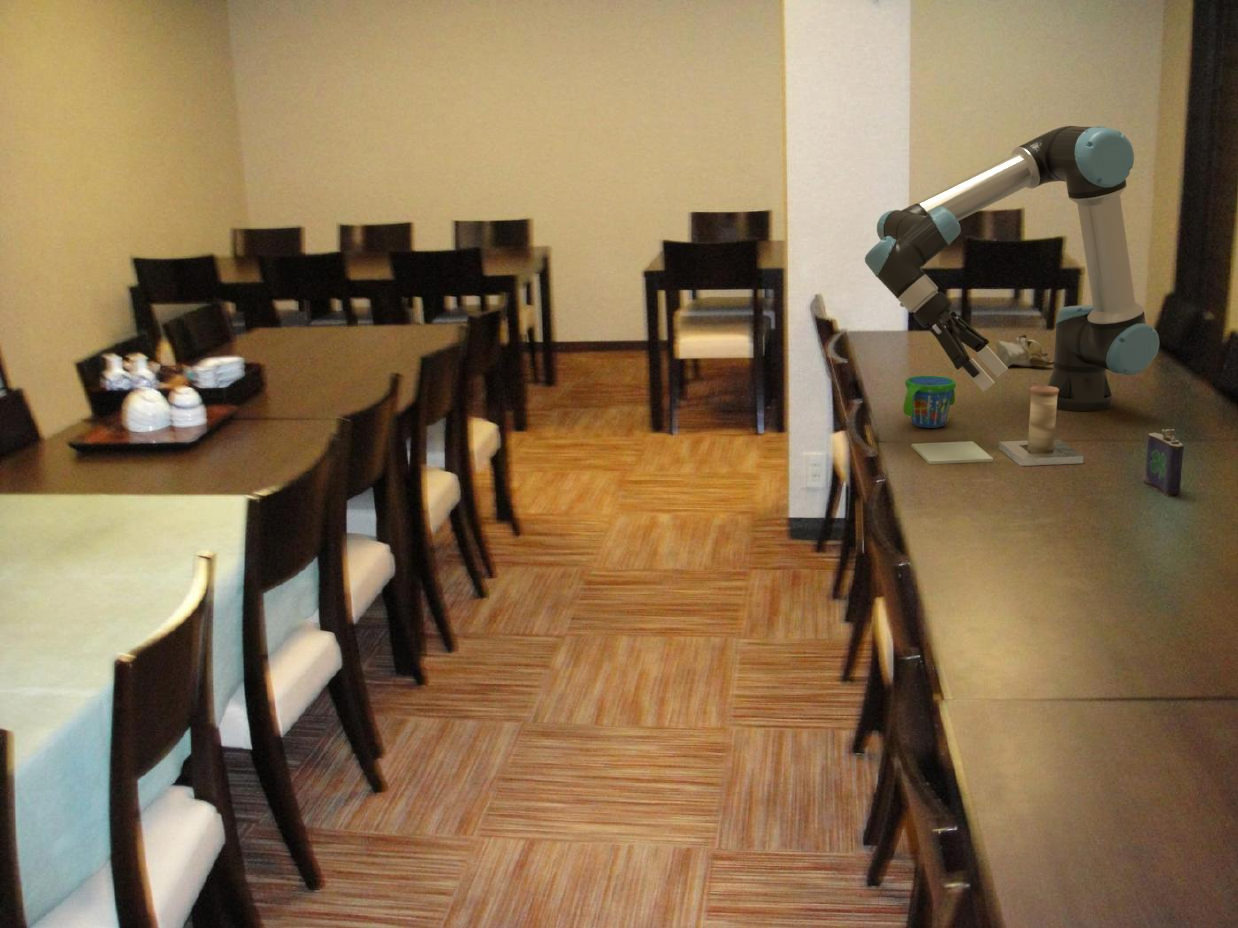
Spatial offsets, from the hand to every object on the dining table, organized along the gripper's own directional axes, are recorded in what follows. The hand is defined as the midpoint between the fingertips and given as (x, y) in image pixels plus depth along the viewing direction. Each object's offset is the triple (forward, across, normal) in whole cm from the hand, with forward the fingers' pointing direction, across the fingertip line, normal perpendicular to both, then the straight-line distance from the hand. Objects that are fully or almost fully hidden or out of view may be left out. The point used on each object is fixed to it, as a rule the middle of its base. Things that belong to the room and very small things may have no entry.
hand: (996, 380), depth 260 cm
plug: (+17, 0, -4) cm, 18 cm away
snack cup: (-1, -16, -23) cm, 28 cm away
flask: (+35, +13, +13) cm, 39 cm away
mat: (+6, +5, -16) cm, 17 cm away
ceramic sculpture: (+5, -84, -17) cm, 86 cm away
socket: (+17, 0, -4) cm, 18 cm away
